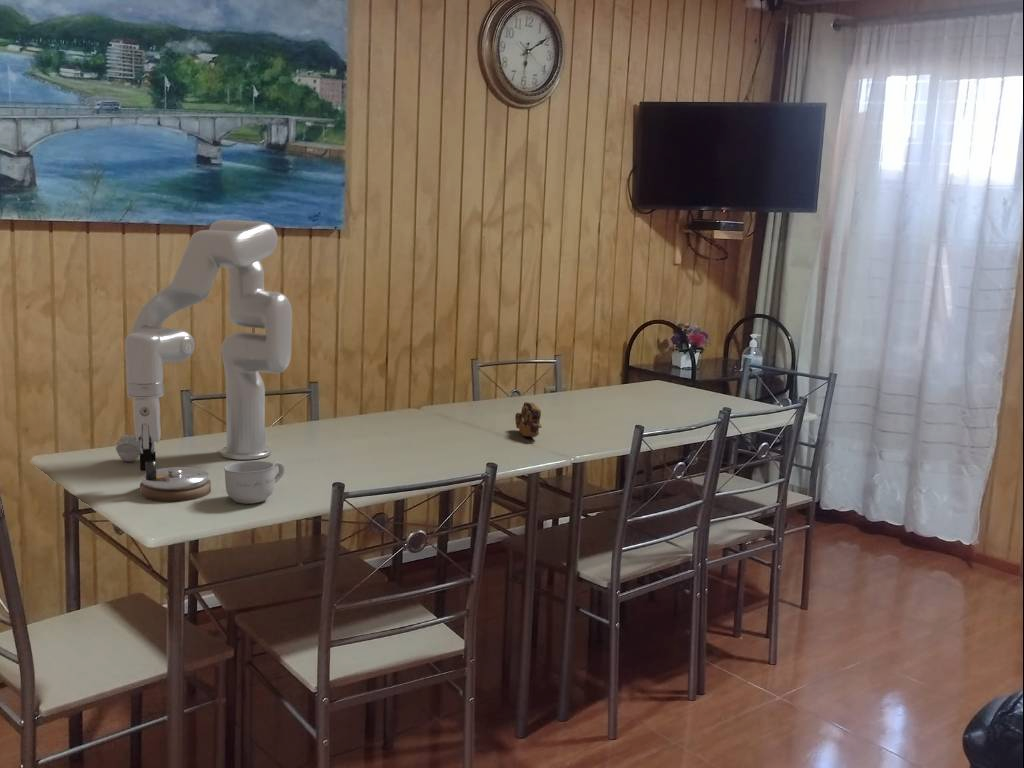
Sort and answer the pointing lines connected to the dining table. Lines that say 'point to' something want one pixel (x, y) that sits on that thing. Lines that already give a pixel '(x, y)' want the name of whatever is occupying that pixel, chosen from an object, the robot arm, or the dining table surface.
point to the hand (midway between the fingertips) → (148, 469)
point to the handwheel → (173, 477)
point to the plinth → (175, 493)
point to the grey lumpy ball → (128, 448)
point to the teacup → (251, 480)
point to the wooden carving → (529, 420)
